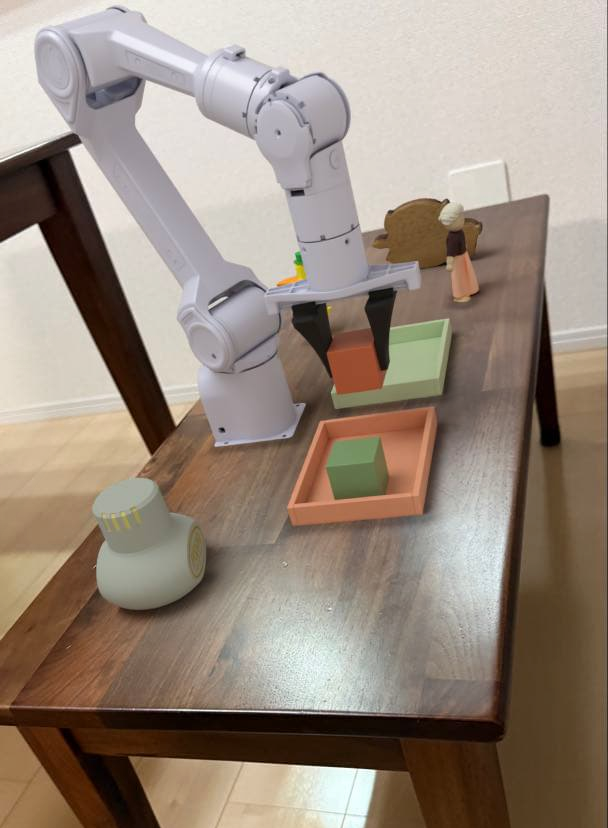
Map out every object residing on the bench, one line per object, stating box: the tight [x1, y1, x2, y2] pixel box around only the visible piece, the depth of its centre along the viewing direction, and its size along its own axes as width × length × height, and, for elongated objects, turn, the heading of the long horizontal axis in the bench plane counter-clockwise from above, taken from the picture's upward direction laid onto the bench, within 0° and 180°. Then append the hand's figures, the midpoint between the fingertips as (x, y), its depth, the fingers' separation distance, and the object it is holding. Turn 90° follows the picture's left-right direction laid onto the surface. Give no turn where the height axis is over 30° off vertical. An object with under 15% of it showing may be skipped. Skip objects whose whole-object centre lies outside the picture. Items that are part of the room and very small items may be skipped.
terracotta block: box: [327, 327, 387, 395], centre depth 82 cm, size 4×4×4 cm
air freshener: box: [91, 477, 207, 611], centre depth 74 cm, size 11×8×10 cm
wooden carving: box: [371, 197, 484, 269], centre depth 125 cm, size 16×5×10 cm, turn 77°
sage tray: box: [330, 317, 453, 410], centre depth 99 cm, size 12×16×3 cm
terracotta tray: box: [286, 405, 438, 527], centre depth 82 cm, size 12×16×3 cm
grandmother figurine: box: [438, 202, 480, 303], centre depth 110 cm, size 8×4×13 cm, turn 168°
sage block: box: [326, 436, 389, 500], centre depth 78 cm, size 4×4×4 cm
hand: (360, 369), depth 82 cm, fingers closed on terracotta block, 4 cm apart
